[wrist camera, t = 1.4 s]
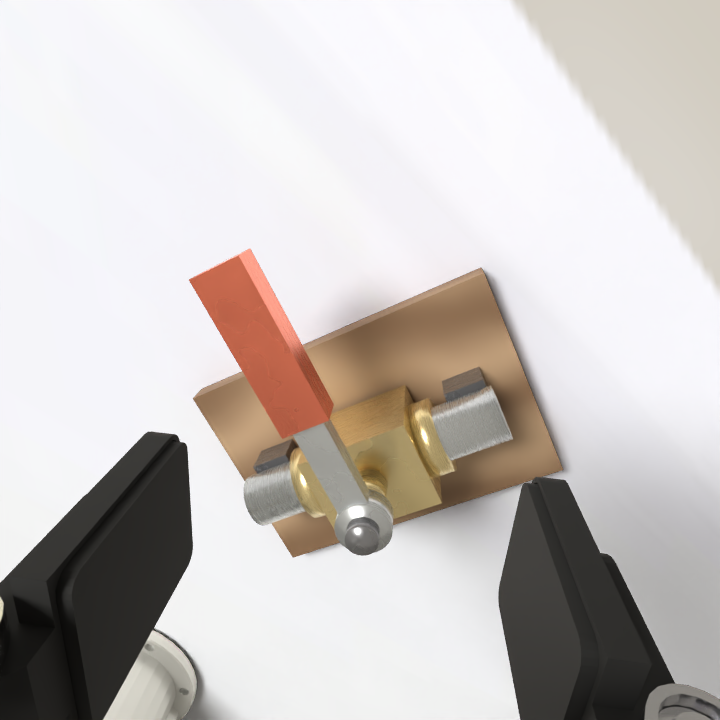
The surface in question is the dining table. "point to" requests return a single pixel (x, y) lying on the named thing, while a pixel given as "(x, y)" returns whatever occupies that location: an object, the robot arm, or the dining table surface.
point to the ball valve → (385, 450)
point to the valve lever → (292, 393)
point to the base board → (422, 379)
